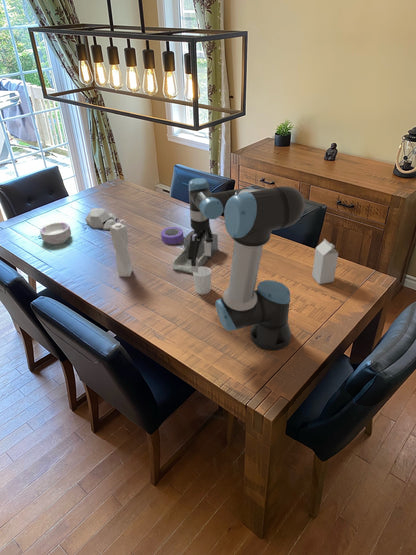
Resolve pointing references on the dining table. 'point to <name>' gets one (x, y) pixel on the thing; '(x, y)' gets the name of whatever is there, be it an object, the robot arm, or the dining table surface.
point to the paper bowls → (55, 233)
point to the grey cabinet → (182, 259)
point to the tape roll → (176, 235)
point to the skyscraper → (121, 248)
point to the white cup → (202, 280)
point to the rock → (100, 218)
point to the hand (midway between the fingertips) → (201, 263)
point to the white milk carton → (325, 263)
